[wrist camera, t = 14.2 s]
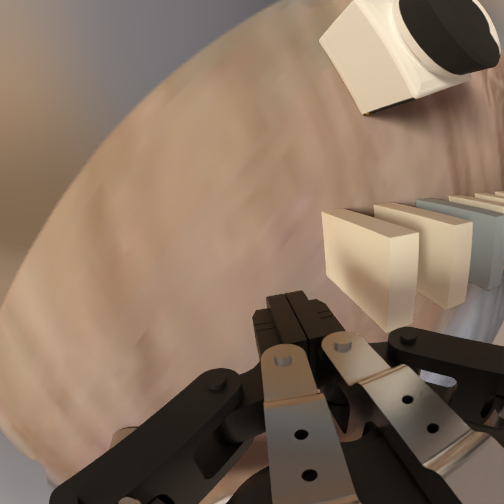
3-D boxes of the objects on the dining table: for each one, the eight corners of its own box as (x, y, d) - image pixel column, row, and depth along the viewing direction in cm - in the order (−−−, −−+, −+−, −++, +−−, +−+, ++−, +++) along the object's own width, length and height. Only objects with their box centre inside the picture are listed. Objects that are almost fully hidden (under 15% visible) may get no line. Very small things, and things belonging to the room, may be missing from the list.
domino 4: (458, 244, 23) (525, 271, 14) (448, 247, 23) (516, 276, 14) (459, 194, 21) (531, 209, 13) (448, 195, 21) (523, 211, 13)
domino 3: (429, 251, 22) (500, 284, 14) (415, 255, 22) (487, 291, 14) (429, 197, 21) (507, 214, 12) (415, 199, 21) (495, 216, 12)
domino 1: (347, 270, 22) (412, 323, 13) (326, 275, 22) (385, 332, 13) (343, 208, 20) (418, 232, 12) (321, 211, 20) (390, 238, 12)
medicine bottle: (360, 117, 19) (480, 84, 7) (316, 40, 17) (395, -46, 5) (418, 94, 18) (524, 69, 7) (379, 26, 16) (465, -31, 5)
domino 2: (392, 260, 22) (464, 302, 13) (375, 264, 22) (446, 310, 13) (391, 202, 21) (472, 221, 12) (373, 204, 20) (454, 225, 12)
